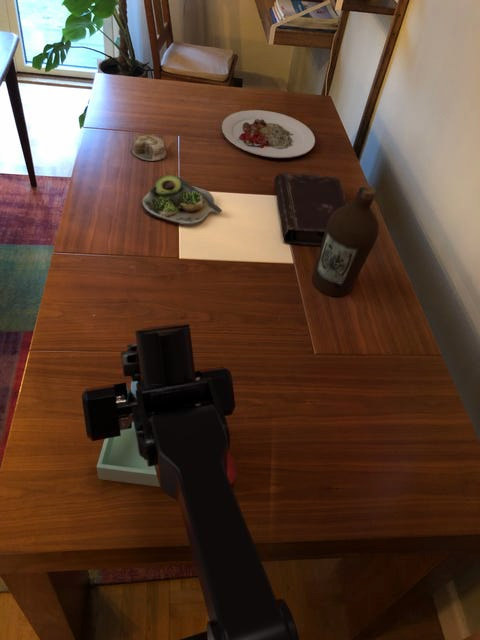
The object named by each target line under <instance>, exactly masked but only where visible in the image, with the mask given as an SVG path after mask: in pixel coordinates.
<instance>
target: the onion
mask: <svg viewBox="0 0 480 640" xmlns="http://www.w3.org/2000/svg"><path fill="white" fill-rule="evenodd" d="M237 474H238V466H237V462H236V460H235V459H234V456H233V455H232V454H231V453H229V452H228V457H227V477H228V479H229V482H230V484H231V486H232V485H233V484H234V482H235V481H236V479H237Z"/></svg>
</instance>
